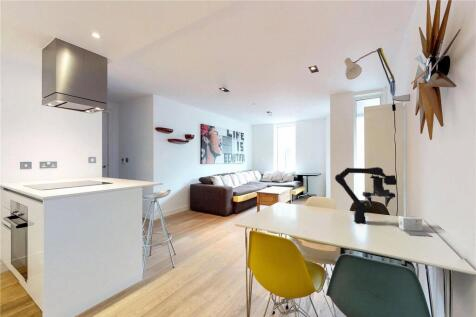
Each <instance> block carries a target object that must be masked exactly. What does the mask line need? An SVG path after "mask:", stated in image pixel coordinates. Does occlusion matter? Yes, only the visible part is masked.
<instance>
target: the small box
mask: <svg viewBox="0 0 476 317" xmlns="http://www.w3.org/2000/svg"><path fill="white" fill-rule="evenodd" d="M398 226H399V228H398V229H400V228H401V229H402V231H403V230H406V231H423V219H422V218H421V217H420V216H410V215H409V216H408V215H399V216H398ZM401 229H400V230H401Z"/></svg>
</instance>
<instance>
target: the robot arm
mask: <svg viewBox="0 0 476 317" xmlns="http://www.w3.org/2000/svg"><path fill="white" fill-rule="evenodd" d="M349 174H369V175H371V176H369V179H372V187H373V191H372V192H370V191H362V194H361V195H362V197H365V198H366V199H367V201H368V203H369V205H370V207H373V203H372V197H375V196H376V197H380V198H381V197H384V199H385V200H384V205H385V208H387V207H388V205H389V203H390V201H391V199H394V198H396V193H395V192H390V189H385V187H384V185H386V186H396V185H397V184H398V183H397V178H396V175H394V174H393V175H387V174H385V173H384V169H383V168H381V167H379V166H375V167H368V168H363V167H362V168H361V167H359V168H358V167H346V168H345V169H344V170H343V171H341V172H340V173H337V174H336V175H335V176H334V180H335V181H336V182H337V183H338V184H339V185H340V186H342V188H343V189H344V191H345V192H346V193H347V195H348V196H349V197H350V199H351V200H352V201H353V202H354V205H355V207H356V208H355V209H353V210H354V213H353V222H354V223H355V224H361V225H362V224H365V225H366V224H367V222H366V221H367V220H366V219H367V218H366V216H365V213H367V212H368V206H367V204H366V203H365V202H364V201H363V199H362V200H360V199H359V198H358V197H357V195H356V194H355V193H354V192H353V190H352V189H351V187H350V186H349V185H348V183H347V182H346V179H345V178H346V176H348V175H349Z"/></svg>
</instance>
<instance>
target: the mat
mask: <svg viewBox="0 0 476 317" xmlns="http://www.w3.org/2000/svg"><path fill="white" fill-rule="evenodd" d="M395 227H396V228H398V229H400V230H402V229H401V228H399V225H398V224H397V225H396V226H395ZM402 231H403V232H404V233H406V234H407V235H409V236H414V237H416V236H417V237H427V236H428V237H430V238H433V236H432V235H431V234H429V233H427V232H426V231H424V230H422V231H406V230H402Z"/></svg>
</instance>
